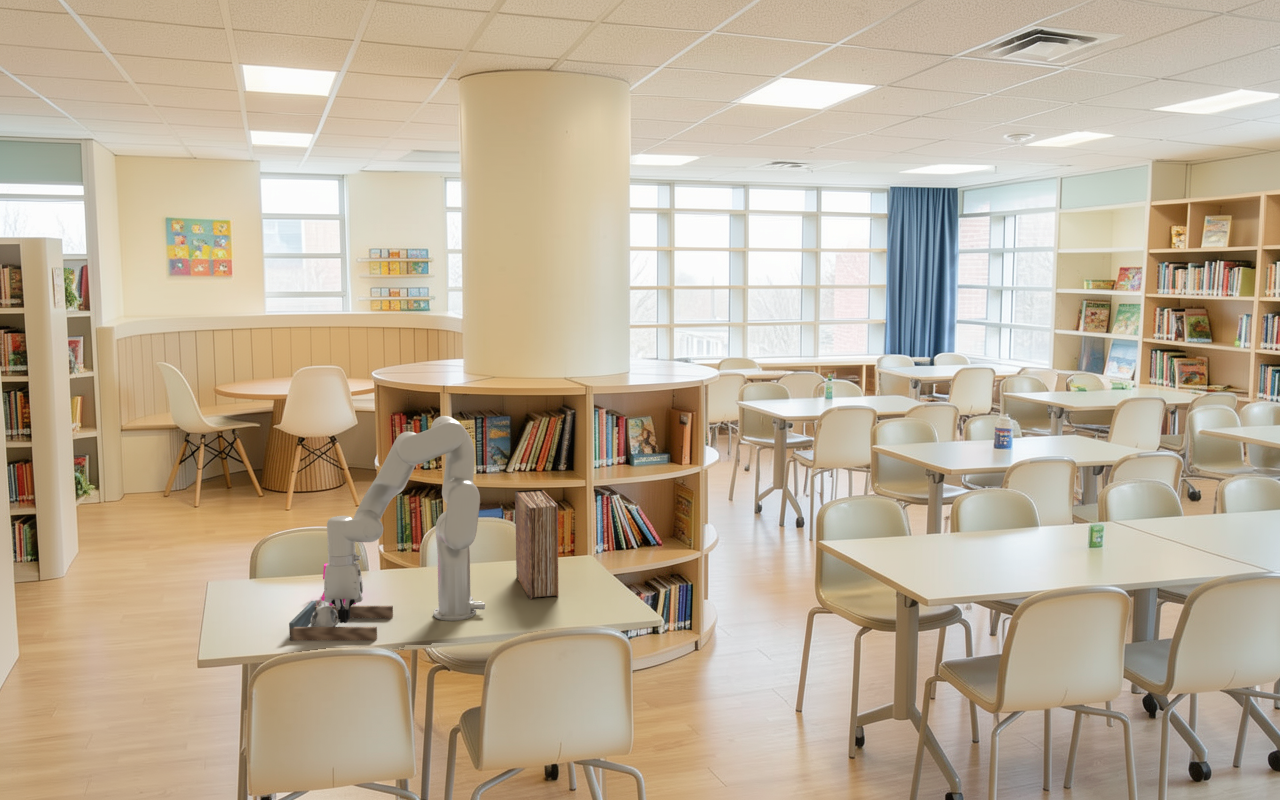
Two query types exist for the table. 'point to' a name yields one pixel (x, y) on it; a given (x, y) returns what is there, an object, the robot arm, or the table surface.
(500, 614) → the table surface
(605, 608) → the table surface
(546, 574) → the book
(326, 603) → the skull
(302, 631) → the bay
